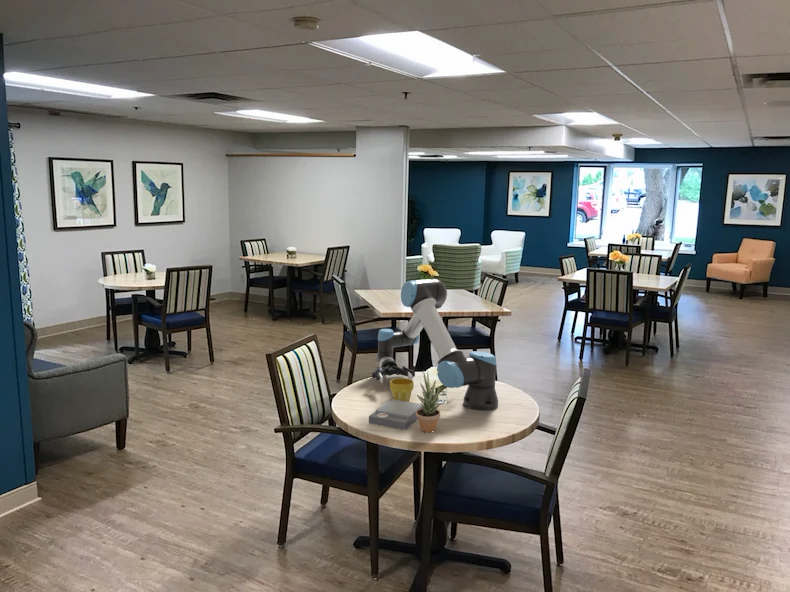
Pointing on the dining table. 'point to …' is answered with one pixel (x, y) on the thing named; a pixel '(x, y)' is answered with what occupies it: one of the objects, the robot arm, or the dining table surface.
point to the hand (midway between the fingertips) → (396, 379)
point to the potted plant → (428, 408)
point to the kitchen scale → (395, 414)
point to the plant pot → (401, 388)
